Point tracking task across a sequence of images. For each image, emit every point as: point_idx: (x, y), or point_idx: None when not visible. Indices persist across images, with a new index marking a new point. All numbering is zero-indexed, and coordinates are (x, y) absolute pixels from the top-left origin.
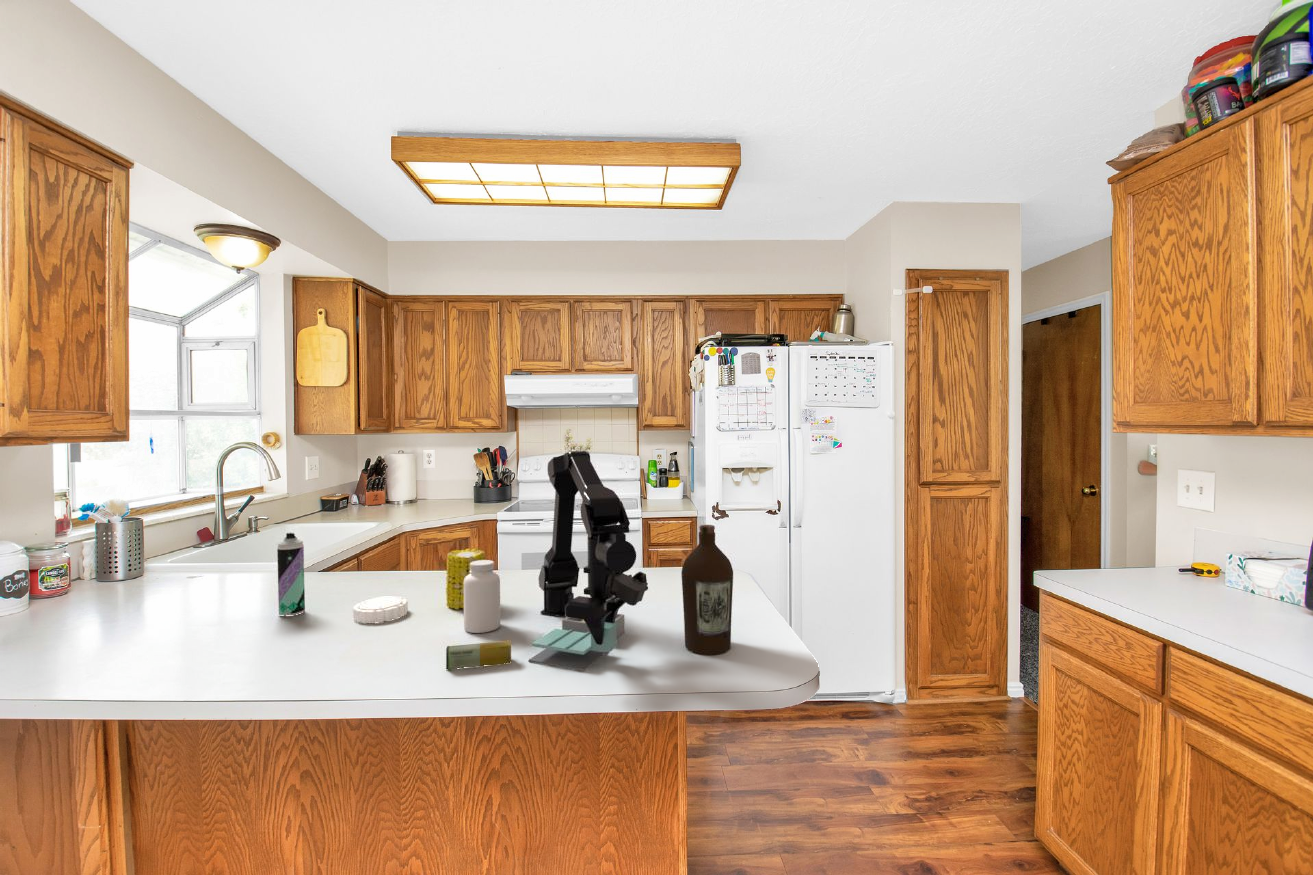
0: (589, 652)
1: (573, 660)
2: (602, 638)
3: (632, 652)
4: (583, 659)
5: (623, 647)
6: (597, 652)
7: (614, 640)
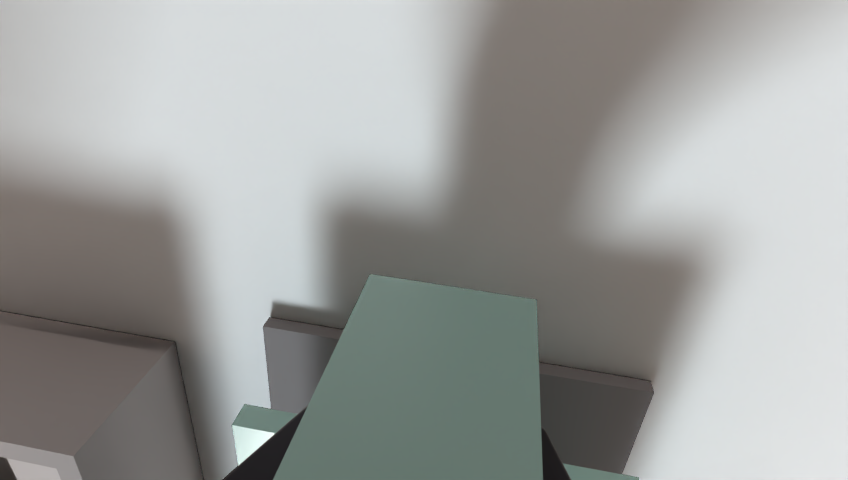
0: None
1: None
2: (544, 476)
3: (187, 137)
4: None
5: (142, 234)
6: None
7: (402, 333)
